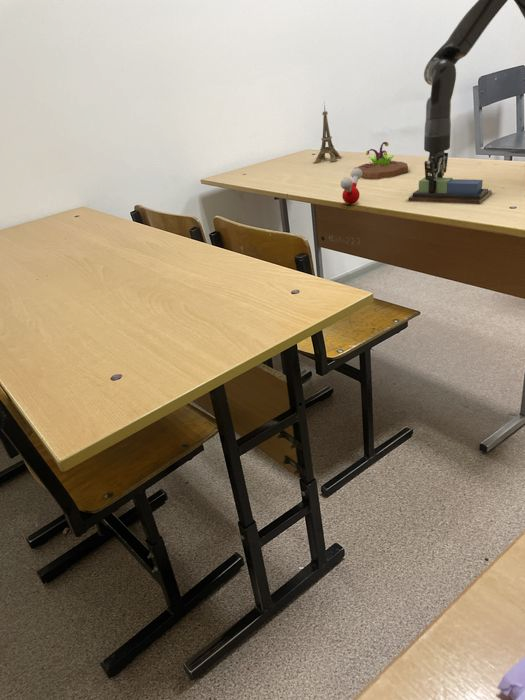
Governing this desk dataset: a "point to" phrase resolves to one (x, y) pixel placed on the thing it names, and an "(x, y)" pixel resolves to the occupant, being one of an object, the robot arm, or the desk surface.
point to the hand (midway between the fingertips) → (435, 190)
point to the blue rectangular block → (464, 186)
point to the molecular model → (351, 187)
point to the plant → (382, 166)
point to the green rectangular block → (440, 185)
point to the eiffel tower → (330, 148)
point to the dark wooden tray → (450, 197)
